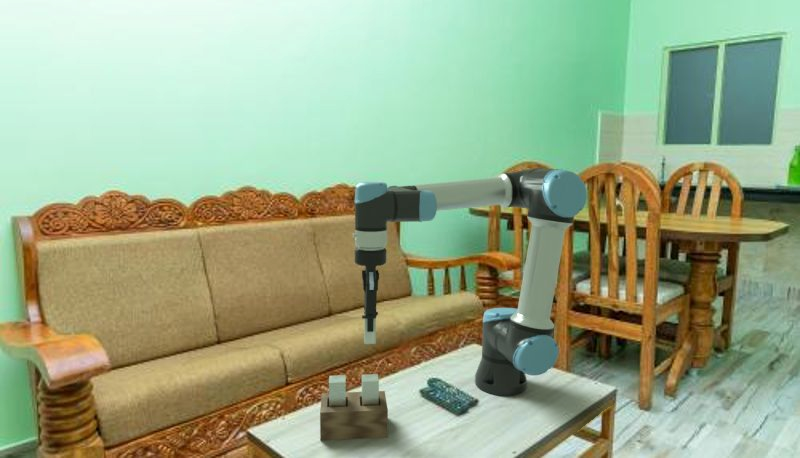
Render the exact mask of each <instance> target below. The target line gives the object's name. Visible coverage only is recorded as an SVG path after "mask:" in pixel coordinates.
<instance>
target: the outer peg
mask: <svg viewBox="0 0 800 458" xmlns="http://www.w3.org/2000/svg"><path fill="white" fill-rule="evenodd" d="M346 376H347V375H346V374H341V375H339V374H338V375H329V378H328V393H329V407H342V406H346V392H347V391H346V390H347V389H346V386H347V385H346V379H347V377H346Z"/></svg>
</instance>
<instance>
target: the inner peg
mask: <svg viewBox="0 0 800 458" xmlns="http://www.w3.org/2000/svg"><path fill="white" fill-rule="evenodd" d="M379 381H380V380H379V373H376V374H375V373H374V374H372V373H371V374H370V373H369V374H361V392H362V406H368V405H379V391H380V390H379V389H380V387H379V385H380V384H379Z"/></svg>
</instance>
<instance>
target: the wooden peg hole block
mask: <svg viewBox="0 0 800 458" xmlns="http://www.w3.org/2000/svg"><path fill="white" fill-rule="evenodd" d="M320 398H321V399H320V400H321V401H320V409H319V417H320V418H319V423H320V424H319V425H320V427H319V428H320V429H319V431H320V434H319V435H320V437H319V439H320V441H334V440H357V439H359V440H360V439H378V438H388V436H389V435H388V432H389V431H388V429H389V427H388V426H389V425H388V424H389V423H388V416H389V409H388V403H387V397H386V391H385V390H379V405H368V406H362V391H350V392H347V391H346V406H342V407H329V392H323V393H321V397H320Z"/></svg>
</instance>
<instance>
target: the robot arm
mask: <svg viewBox="0 0 800 458" xmlns="http://www.w3.org/2000/svg"><path fill="white" fill-rule="evenodd" d="M354 194H355V195H354V230H355V231H354V233H352V234H351V235H352V238H355V239H354V246H355V249H354V263H355V264H356V265H357V266H361V267H362V266H363V267H365V268H364V269H363V270H361V276H362V287H363V291H364V295H363V296H364V300H363V301H364V306H363V309H364V311H363V313H364V314H363V315H361V318H362V320H363V322H364V323H363V324H364V325H363V328H364V329H363V334H364V335H363V342H364V343H363V344H364V345H376V343H377V342H376V339H377V337H376V335H377V333H376V332H377V330H376V329H377V328H376V327H377V325H376V324H377V316H378V315H379V312H378V311H377V297H378V296H377V295H378V294H377V292H378V290H379V280H380V272H379V269H377V266H378V267H379V266H380V267H381V266H384V265H386V264H387V249H386V248H385V247H386V246H387V245H388V227H387V224H388V223H396V222H397V223H400V222H404V223H405V222H407V223H409V222H414V223H415V222H419V223H422V222H430V221H433V220H434V219H435V218H436V215H437V212H440V211H450V210H458V209H460V210H461V209H469V208H479V207H487V206H488V207H489V206H495V205H496V206H497V205H498V206H500V207H502V208H503V209H504V208H505V209H506V208H519V209H520V208H521V209H525V210H528V211H527V216H526V217H527V219H528V221H529V222H530V223H531V229H530V233H529V240H528V247H527V251H526V257H525V263H524V270H523V274H522V275H523V276H522V282H521V287H520V292H519V299H518V304H517V305H518V306H517V308H513V307H494V308H489V309H486V310H485V311H484V313H483V319H482V338H481V339H482V341H481V342H482V343H481V344H482V345H481V358H480V361H479V364H478V366H477V369H476V372H475V376H474V384H475V386H476V387H477V388H478V389H480V390H481V391H483V392H486V393H488V394H490V395H491V394H492V395H497V396H515V395H519V394H522V393H524V392H525V391H526V389H527V384H528V383H527V382H528V380H527V379H528V378H527V376H526V375H528V376H540V375H542V374H543V375H544V374H545V373H547V371H548V370H550V369H552V368H553V367H554V366H555V364H556V362H557V361H558V359H559V353H560V349H559V348H560V347H559V344H558V343H557V341H556V340H555V338H553V336H554V330H555V323H553V321H552V320H551V314H552V307H553V303H554V296H555V291H556V285H557V281H558V280H557V279H558V274H559V267H560V262H561V256H562V252H563V251H562V250H563V245H564V241H565V240H564V239H565V233H566V230H567V229H568V228H569V227H571V226H573V225H574V224H573V223H574V218H575V216H577V215H578V214H580V212H581V211H583V209H584V207H585V205H586V203H587V198H588V192H587V188H586V184H585V183H584V181H583V180H582V178H581V176H579V174H577V173H575V172H573V171H570V170H567V169H563V168H543V167H542V168H540V167H536V168H535V167H534V168H528V169H523V170H519V171H518V170H517V171H512V172H504V173H500V174H498V175H497V177H489V178H477V179H468V180H467V179H466V180H465V179H464V180H456V181H446V182H435V183H432V182H431V183H422V184H414V185H403V186H402V185H401V186H398V185H389V186H388V184H387V183H386V182H383V181H360V182H358V183H356V185H355V193H354Z"/></svg>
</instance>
